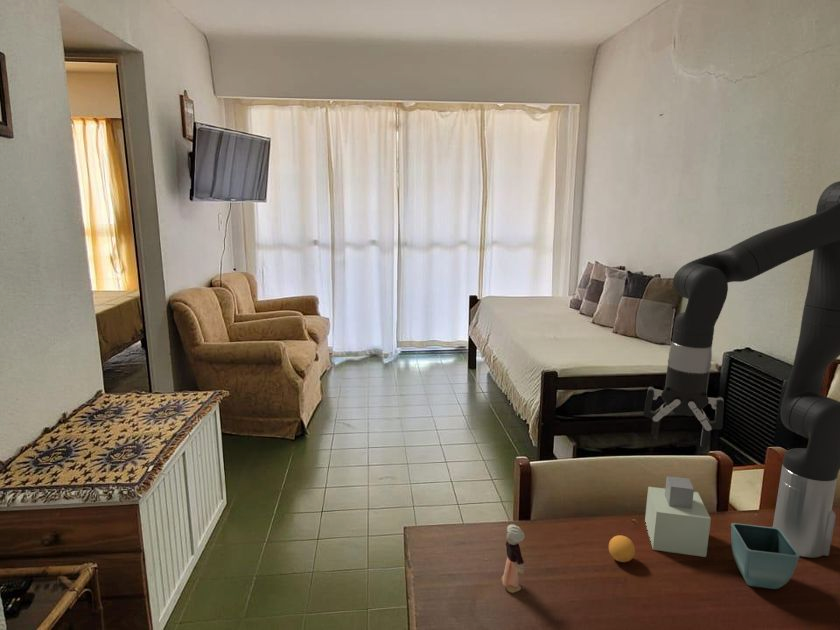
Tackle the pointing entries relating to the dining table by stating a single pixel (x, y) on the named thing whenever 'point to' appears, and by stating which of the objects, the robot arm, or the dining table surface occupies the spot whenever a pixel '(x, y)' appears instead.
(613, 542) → the ball
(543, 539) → the dining table surface
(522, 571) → the grandmother figurine
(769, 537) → the flower pot
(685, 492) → the pale green cube
